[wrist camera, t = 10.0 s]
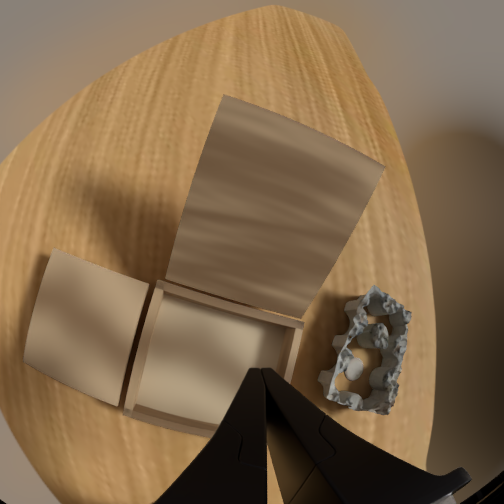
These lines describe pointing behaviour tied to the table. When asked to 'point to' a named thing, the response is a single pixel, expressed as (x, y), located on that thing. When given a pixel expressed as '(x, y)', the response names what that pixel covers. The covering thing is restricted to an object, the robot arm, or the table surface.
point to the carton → (152, 344)
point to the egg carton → (370, 337)
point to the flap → (269, 209)
